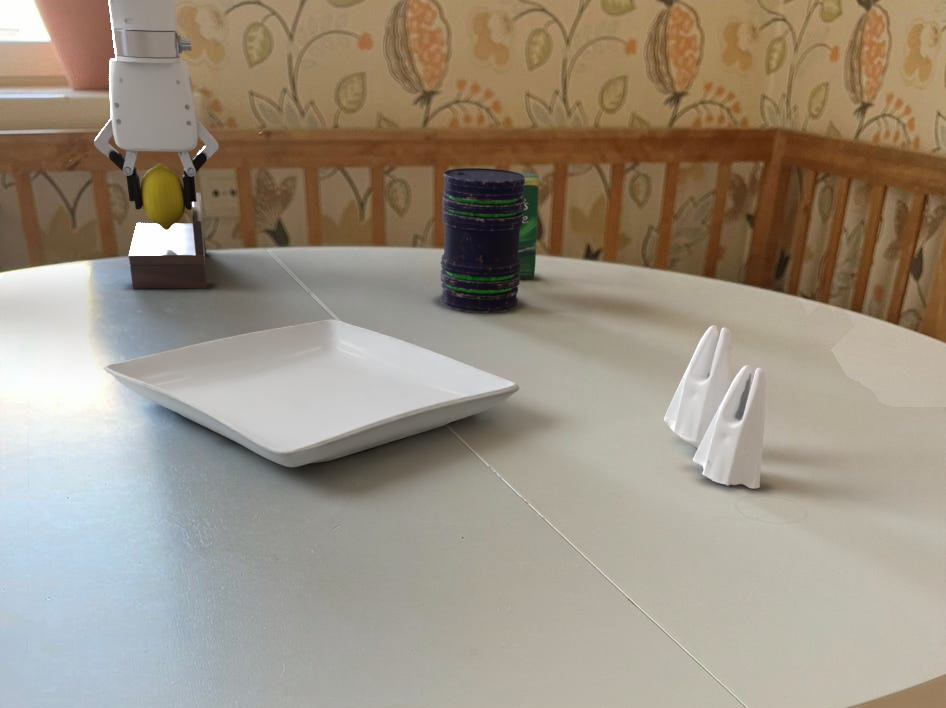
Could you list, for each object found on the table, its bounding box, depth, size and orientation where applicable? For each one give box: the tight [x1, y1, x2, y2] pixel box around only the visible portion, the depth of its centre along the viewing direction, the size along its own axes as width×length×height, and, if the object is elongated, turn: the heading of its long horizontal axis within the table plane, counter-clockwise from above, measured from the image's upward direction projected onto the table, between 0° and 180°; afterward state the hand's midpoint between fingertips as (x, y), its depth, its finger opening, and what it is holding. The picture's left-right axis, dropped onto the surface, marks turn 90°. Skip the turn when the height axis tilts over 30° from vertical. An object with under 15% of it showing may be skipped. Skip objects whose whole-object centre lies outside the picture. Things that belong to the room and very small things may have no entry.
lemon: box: [140, 163, 186, 230], centre depth 135 cm, size 6×6×8 cm
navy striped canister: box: [440, 167, 525, 314], centre depth 128 cm, size 10×10×15 cm
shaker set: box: [663, 324, 767, 490], centre depth 87 cm, size 12×4×11 cm, turn 14°
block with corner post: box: [128, 192, 208, 290], centre depth 138 cm, size 20×9×8 cm, turn 13°
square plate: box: [102, 318, 520, 468], centre depth 95 cm, size 27×27×4 cm
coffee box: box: [518, 173, 540, 280], centre depth 141 cm, size 8×3×13 cm, turn 95°
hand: (163, 206), depth 135 cm, fingers closed on lemon, 5 cm apart
